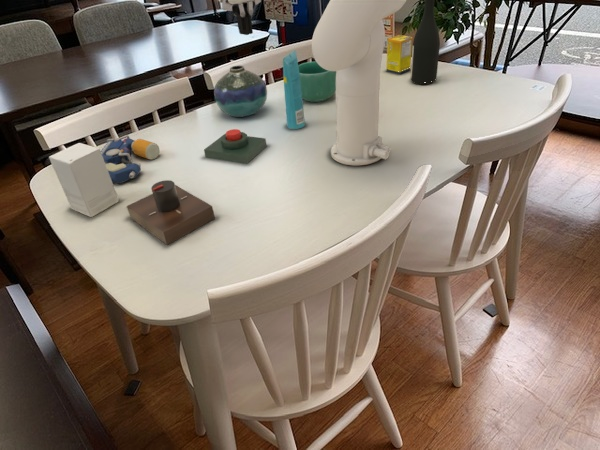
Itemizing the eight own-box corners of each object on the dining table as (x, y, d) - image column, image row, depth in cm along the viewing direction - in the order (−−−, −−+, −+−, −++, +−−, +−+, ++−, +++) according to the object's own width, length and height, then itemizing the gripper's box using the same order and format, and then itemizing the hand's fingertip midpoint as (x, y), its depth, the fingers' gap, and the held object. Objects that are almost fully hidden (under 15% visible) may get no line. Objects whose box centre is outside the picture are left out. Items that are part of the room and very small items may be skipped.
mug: (319, 108, 133) (317, 76, 128) (288, 100, 140) (285, 70, 135) (352, 91, 143) (352, 60, 138) (321, 85, 150) (320, 55, 145)
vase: (212, 110, 139) (203, 66, 131) (259, 99, 143) (254, 56, 136) (225, 127, 127) (217, 79, 119) (276, 115, 131) (271, 69, 124)
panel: (215, 218, 90) (212, 205, 88) (167, 245, 84) (163, 231, 82) (176, 195, 98) (173, 182, 97) (130, 218, 92) (126, 205, 91)
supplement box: (397, 67, 160) (398, 34, 153) (410, 70, 156) (412, 36, 149) (385, 71, 157) (386, 38, 150) (399, 74, 153) (401, 40, 146)
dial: (172, 197, 92) (166, 176, 89) (184, 204, 89) (178, 183, 87) (153, 206, 89) (146, 185, 87) (165, 214, 87) (158, 193, 84)
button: (244, 136, 112) (243, 129, 111) (236, 142, 110) (235, 135, 109) (231, 134, 114) (230, 128, 113) (224, 140, 111) (222, 134, 110)
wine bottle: (405, 82, 146) (411, -23, 129) (421, 75, 150) (429, -27, 133) (424, 87, 141) (434, -21, 124) (441, 81, 145) (452, -26, 127)
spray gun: (168, 143, 121) (113, 148, 122) (163, 128, 118) (108, 133, 119) (146, 185, 104) (82, 189, 105) (140, 169, 101) (75, 174, 102)
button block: (266, 146, 115) (264, 131, 113) (247, 164, 108) (244, 149, 106) (226, 140, 120) (224, 126, 117) (205, 157, 112) (202, 142, 110)
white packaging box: (120, 201, 98) (101, 148, 91) (90, 218, 93) (68, 163, 86) (99, 193, 102) (79, 141, 95) (70, 209, 97) (46, 156, 90)
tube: (292, 120, 128) (285, 49, 117) (308, 121, 126) (303, 49, 115) (283, 131, 122) (275, 58, 111) (300, 132, 121) (294, 58, 109)
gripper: (249, -60, 105) (259, 25, 115) (195, -52, 97) (211, 39, 107) (270, -60, 100) (279, 28, 111) (216, -52, 92) (231, 42, 103)
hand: (246, 33), depth 109 cm, fingers closed
